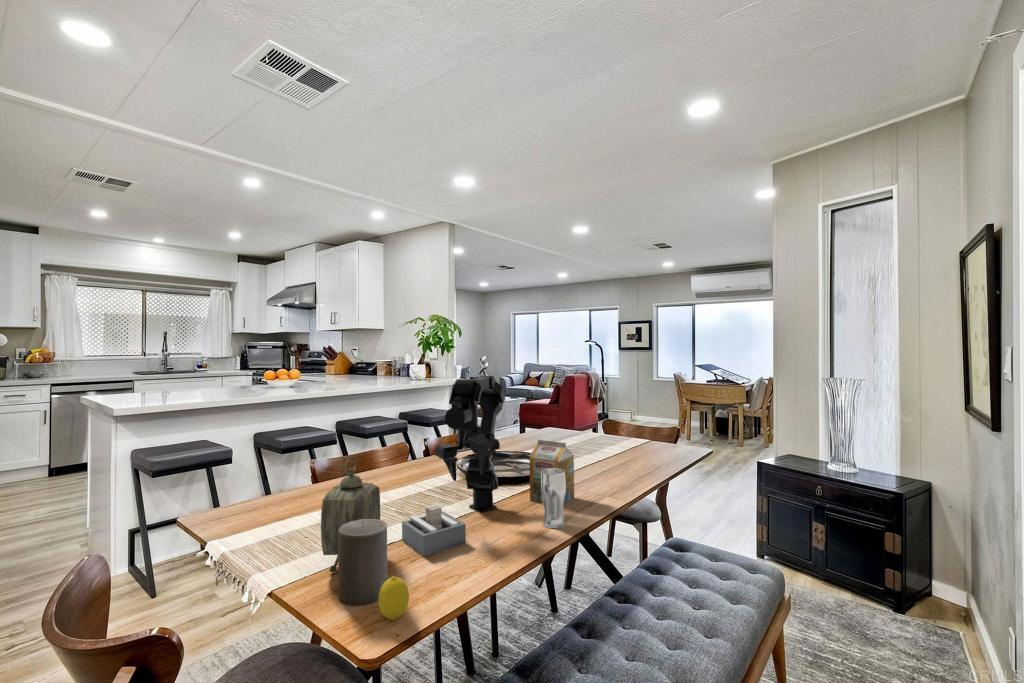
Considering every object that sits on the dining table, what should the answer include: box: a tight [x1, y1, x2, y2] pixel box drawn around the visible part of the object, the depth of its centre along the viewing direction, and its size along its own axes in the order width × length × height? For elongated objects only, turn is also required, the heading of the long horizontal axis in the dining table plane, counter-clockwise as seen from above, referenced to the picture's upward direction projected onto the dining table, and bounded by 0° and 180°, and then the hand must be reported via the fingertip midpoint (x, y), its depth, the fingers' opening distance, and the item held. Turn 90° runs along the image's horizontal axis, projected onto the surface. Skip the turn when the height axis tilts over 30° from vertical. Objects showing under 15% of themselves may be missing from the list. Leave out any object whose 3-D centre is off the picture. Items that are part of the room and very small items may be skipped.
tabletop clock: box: [320, 455, 381, 573], centre depth 111 cm, size 14×9×25 cm, turn 178°
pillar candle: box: [337, 519, 389, 607], centre depth 97 cm, size 10×10×15 cm
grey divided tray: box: [401, 510, 467, 558], centre depth 121 cm, size 12×12×6 cm
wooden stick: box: [425, 504, 442, 533], centre depth 121 cm, size 3×3×8 cm
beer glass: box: [541, 468, 566, 529], centre depth 132 cm, size 7×7×15 cm
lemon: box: [377, 575, 410, 621], centre depth 87 cm, size 6×6×8 cm
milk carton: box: [529, 439, 575, 504], centre depth 153 cm, size 10×11×19 cm
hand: (468, 477), depth 134 cm, fingers open, 9 cm apart
